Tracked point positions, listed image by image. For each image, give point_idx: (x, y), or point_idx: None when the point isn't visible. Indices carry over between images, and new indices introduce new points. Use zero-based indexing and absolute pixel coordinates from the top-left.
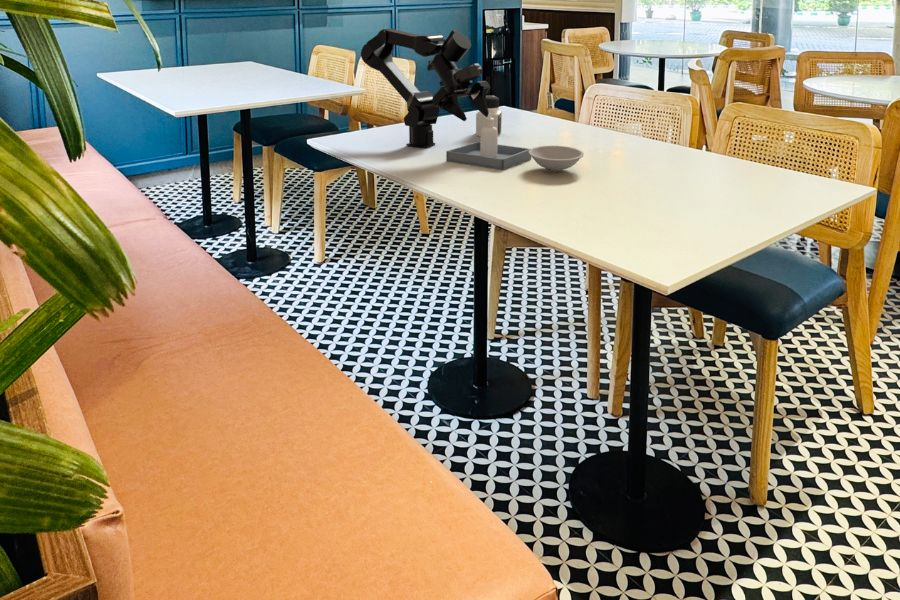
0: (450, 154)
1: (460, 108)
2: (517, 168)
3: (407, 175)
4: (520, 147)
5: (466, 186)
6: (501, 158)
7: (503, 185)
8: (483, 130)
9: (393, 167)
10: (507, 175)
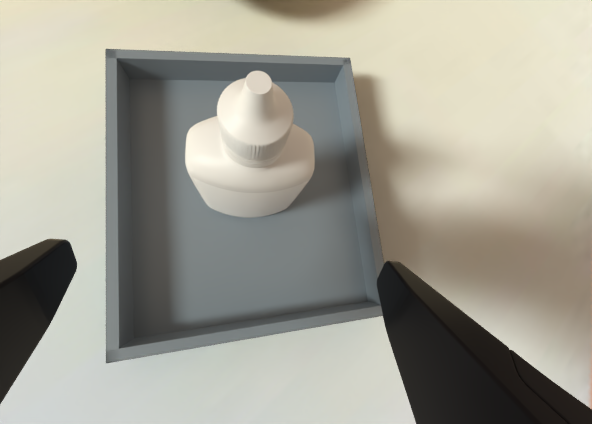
0: None
1: (484, 346)
2: None
3: (571, 266)
4: (107, 102)
5: (524, 74)
6: None
7: (457, 8)
8: (311, 153)
9: None
10: (376, 43)
